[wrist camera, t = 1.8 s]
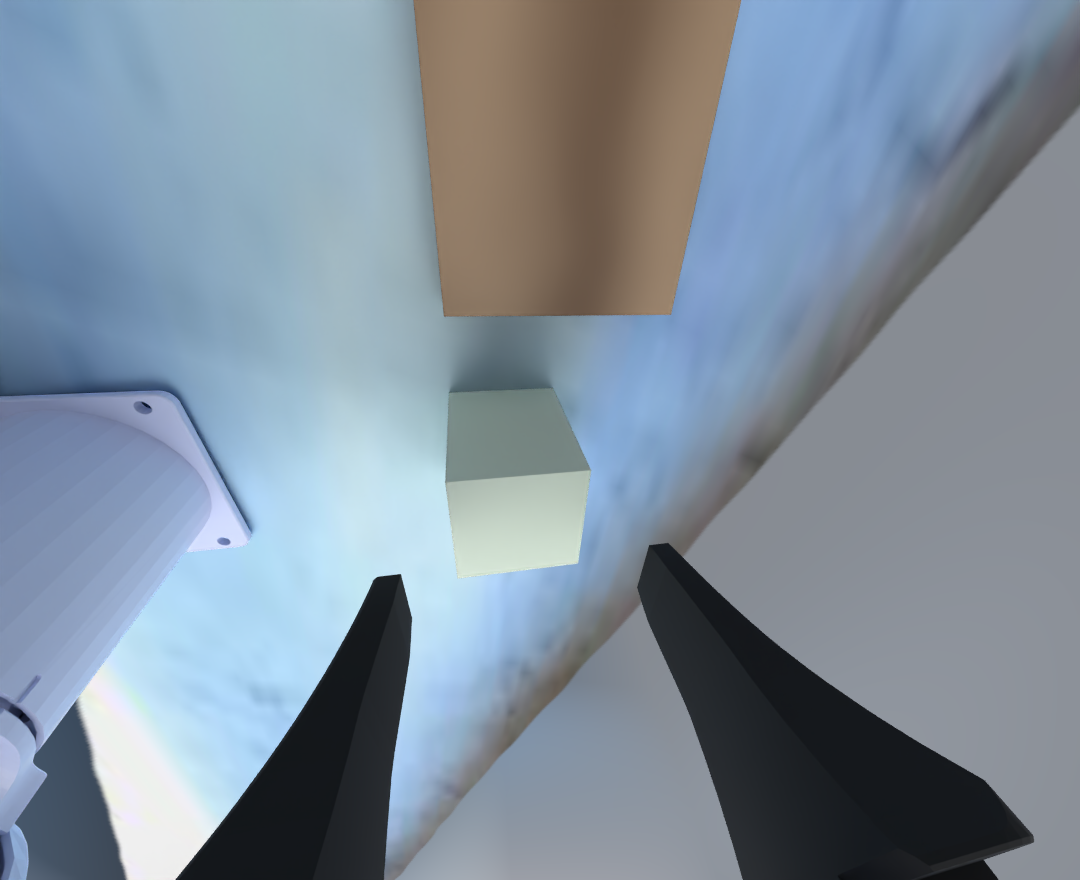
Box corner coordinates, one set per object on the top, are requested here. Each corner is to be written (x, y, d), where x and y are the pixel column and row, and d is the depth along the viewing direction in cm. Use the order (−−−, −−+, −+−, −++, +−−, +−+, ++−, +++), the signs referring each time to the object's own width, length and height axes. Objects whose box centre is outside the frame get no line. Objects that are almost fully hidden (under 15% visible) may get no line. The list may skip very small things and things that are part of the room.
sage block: (457, 475, 19) (457, 578, 14) (448, 392, 16) (445, 482, 11) (547, 467, 20) (577, 563, 15) (552, 387, 17) (591, 470, 12)
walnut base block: (446, 298, 15) (443, 316, 13) (417, -15, 10) (407, -66, 8) (643, 297, 16) (670, 314, 14) (693, 21, 12) (744, -14, 9)
